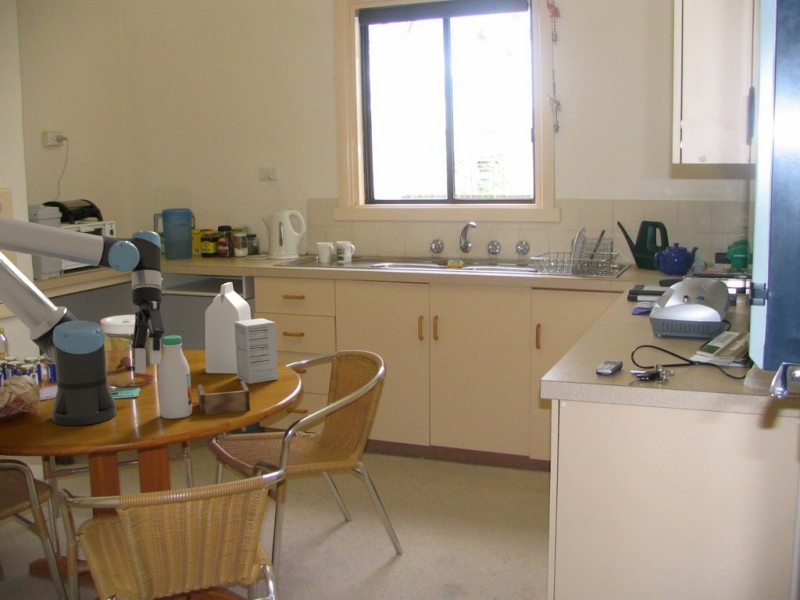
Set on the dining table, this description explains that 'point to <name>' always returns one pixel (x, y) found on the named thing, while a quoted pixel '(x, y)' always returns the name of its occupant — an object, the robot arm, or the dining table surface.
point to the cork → (146, 352)
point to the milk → (223, 329)
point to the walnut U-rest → (224, 401)
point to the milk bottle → (174, 380)
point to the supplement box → (256, 350)
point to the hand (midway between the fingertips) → (147, 368)
